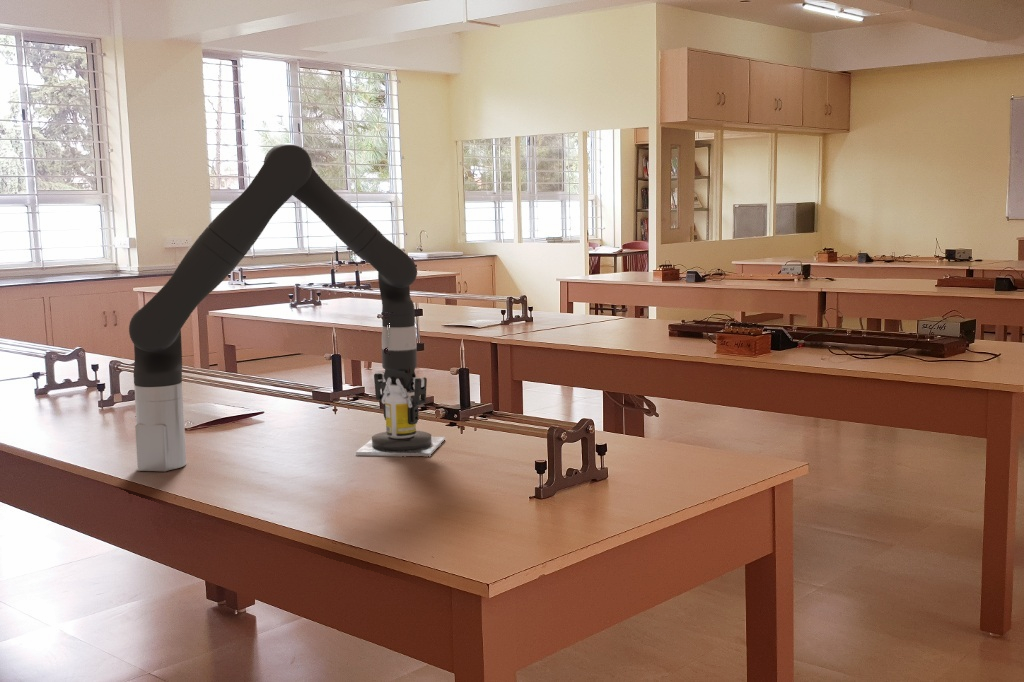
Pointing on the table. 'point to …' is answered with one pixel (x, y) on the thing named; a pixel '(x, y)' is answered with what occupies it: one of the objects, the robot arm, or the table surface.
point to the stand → (401, 445)
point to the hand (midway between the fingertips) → (400, 421)
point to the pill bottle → (398, 415)
